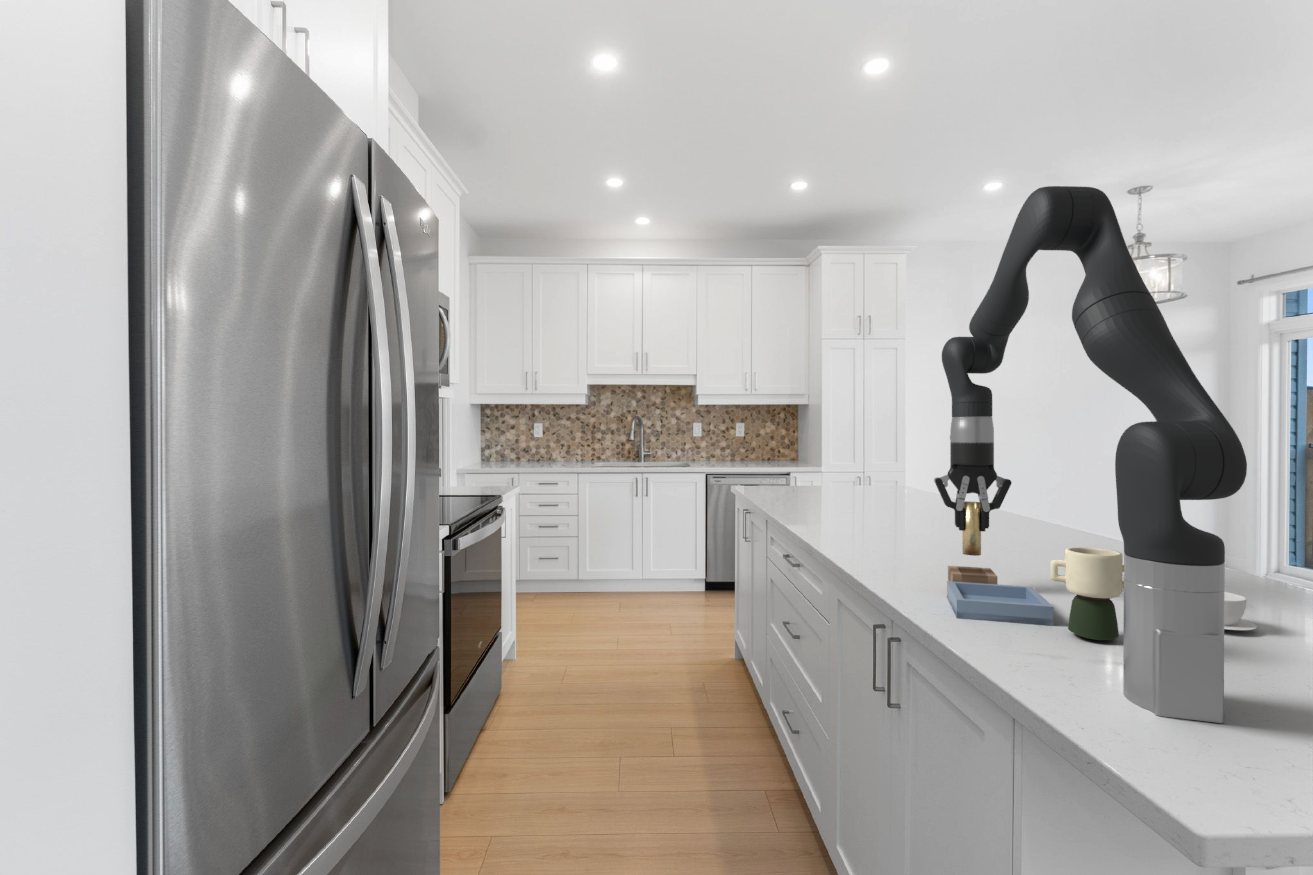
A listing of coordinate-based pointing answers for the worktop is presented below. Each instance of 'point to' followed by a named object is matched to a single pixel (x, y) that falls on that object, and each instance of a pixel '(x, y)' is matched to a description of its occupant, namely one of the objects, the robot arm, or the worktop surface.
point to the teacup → (1235, 613)
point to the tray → (999, 603)
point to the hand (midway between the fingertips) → (971, 529)
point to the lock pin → (972, 528)
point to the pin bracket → (971, 575)
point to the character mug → (1091, 590)
